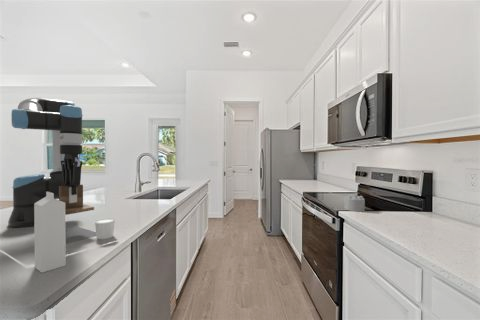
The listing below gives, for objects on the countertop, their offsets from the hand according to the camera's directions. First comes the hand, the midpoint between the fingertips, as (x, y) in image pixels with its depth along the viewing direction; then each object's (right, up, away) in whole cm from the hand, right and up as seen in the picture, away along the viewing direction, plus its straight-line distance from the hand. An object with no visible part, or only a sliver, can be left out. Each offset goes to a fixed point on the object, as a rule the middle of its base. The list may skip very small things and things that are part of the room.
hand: (71, 202), depth 103 cm
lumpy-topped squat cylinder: (+141, -14, +55) cm, 152 cm away
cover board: (0, -3, 0) cm, 3 cm away
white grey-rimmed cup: (+15, -14, -3) cm, 21 cm away
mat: (0, -14, 0) cm, 14 cm away
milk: (+13, -14, -28) cm, 34 cm away
